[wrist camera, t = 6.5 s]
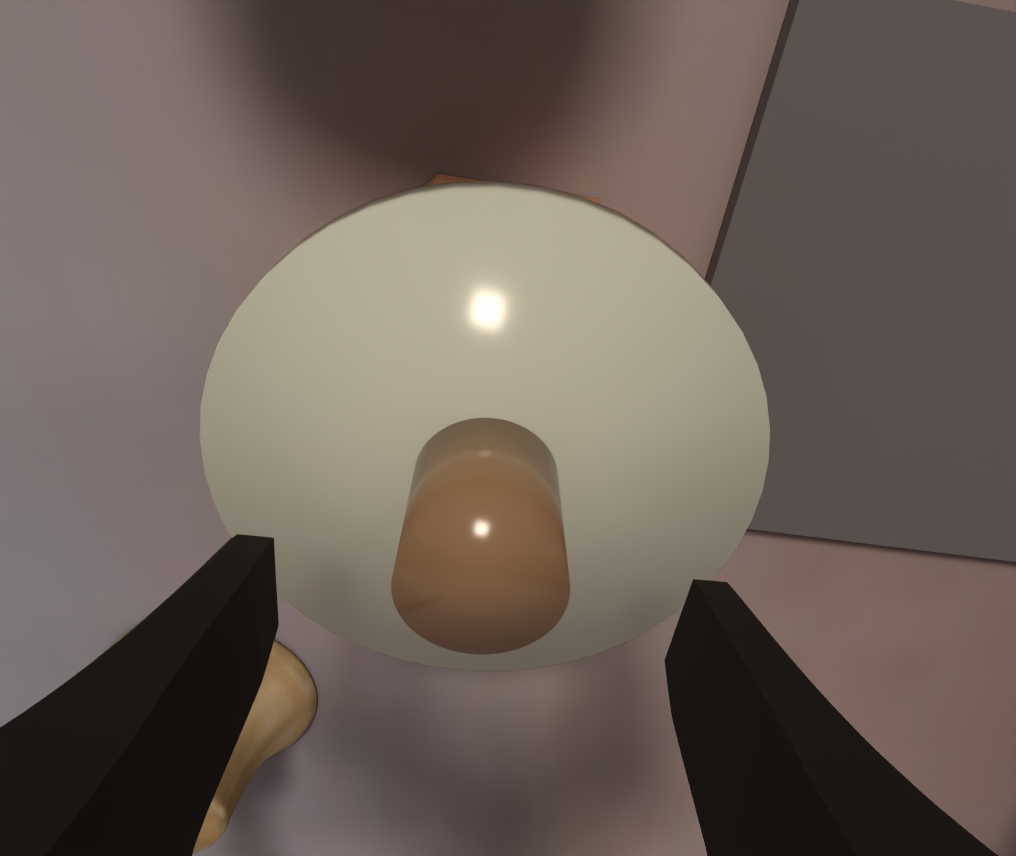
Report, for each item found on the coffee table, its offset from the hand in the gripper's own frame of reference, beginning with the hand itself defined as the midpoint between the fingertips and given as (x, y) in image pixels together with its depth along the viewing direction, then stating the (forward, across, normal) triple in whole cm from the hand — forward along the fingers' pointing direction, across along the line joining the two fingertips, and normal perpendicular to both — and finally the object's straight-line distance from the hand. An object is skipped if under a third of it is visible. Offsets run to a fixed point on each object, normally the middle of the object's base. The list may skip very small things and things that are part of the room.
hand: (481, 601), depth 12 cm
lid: (+5, 0, 0) cm, 5 cm away
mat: (+10, -13, -3) cm, 17 cm away
